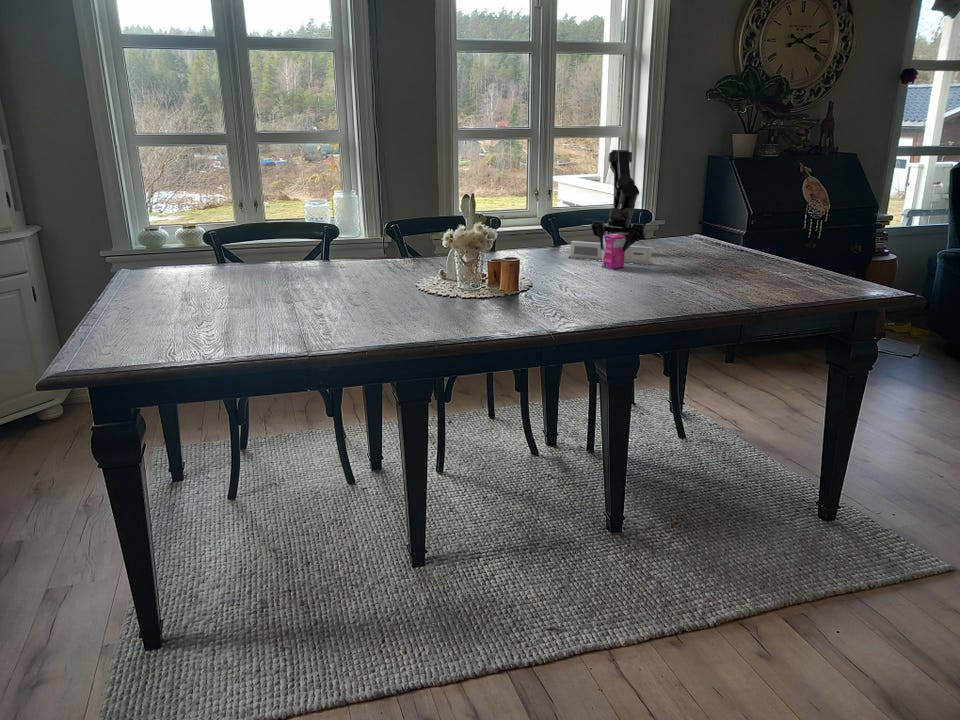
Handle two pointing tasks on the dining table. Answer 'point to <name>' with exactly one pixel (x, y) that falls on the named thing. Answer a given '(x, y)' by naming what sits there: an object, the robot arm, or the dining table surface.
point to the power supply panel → (595, 252)
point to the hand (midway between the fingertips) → (612, 249)
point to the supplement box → (613, 251)
